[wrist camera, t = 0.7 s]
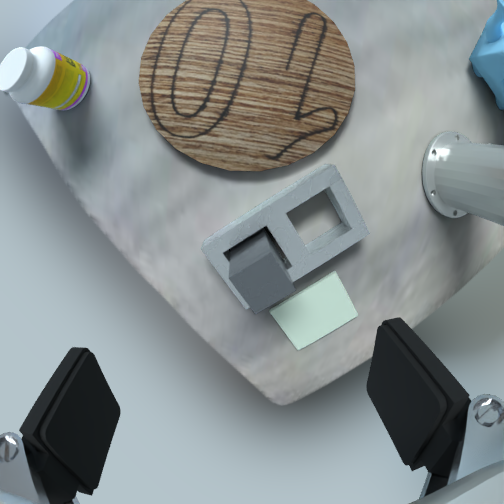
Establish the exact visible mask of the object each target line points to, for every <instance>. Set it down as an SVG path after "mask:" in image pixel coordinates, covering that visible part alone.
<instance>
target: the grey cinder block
mask: <svg viewBox="0 0 504 504" xmlns="http://www.w3.org/2000/svg"><path fill="white" fill-rule="evenodd" d="M322 190H325V192H326V194H327V196H328V197H329V199H330V201H331V203H332V205H333V207H334V208H335V210H336V212H337V214H338V216H339V218H340V220H341V223H340V224H338V225H337V226H335V227H333V228H332V229H330V230H329V231H327V232H325V233H324V234H322V235H321V236H319V237H318V238H316V239H314V240H313V241H311V242H310V243H308V244H306V245H305V244H304V243H303V241H302V239H301V238H300V236H299V234H298V233H297V231H296V229H295V228H294V226H293V225H292V223H291V221H290V220H289V218H288V216H287V215H286V213H287V212H289V211H290V210H292V209H293V208H295V207H297V206H298V205H300V204H301V203H303V202H305V201H306V200H308V199H310V198H311V197H313V196H314V195H316V194H318V193H319V192H321V191H322ZM266 225H267V227H268V229H269V230H270V232H271V233H272V235H273V236H274V238H275V239H276V241H277V243H278V244H279V246H280V247H281V249H282V250H283V252H284V254H285V255H286V257H285V258H284V259H283V261H284V263H285V265H286V268H287V270H288V272H289V275H290V277H291V279H292V282H294V281H296V280H297V279H299V278H301V277H302V276H304V275H305V274H307V273H309V272H310V271H312V270H314V269H315V268H317V267H318V266H320V265H322V264H323V263H325V262H326V261H328V260H330V259H331V258H333V257H334V256H336V255H338V254H339V253H341V252H342V251H344V250H345V249H347V248H348V247H350V246H352V245H353V244H355V243H356V242H358V241H359V240H361V239H362V238H364V237H365V236H367V235H368V234H370V233H369V231H368V229H367V226H366V224H365V222H364V220H363V218H362V216H361V214H360V212H359V210H358V208H357V206H356V204H355V202H354V200H353V198H352V196H351V194H350V192H349V190H348V188H347V186H346V185H345V183H344V181H343V179H342V177H341V175H340V173H339V172H338V170H337V168H336V166H335V165H332V164H324V165H323V166H321V167H319V168H318V169H316V170H314V171H313V172H311V173H309V174H308V175H306V176H304V177H303V178H301V179H299V180H298V181H296V182H294V183H293V184H291V185H290V186H288V187H286V188H285V189H283V190H281V191H280V192H278V193H277V194H275V195H273V196H272V197H270V198H269V199H267V200H265V201H264V202H262V203H261V204H259V205H258V206H256V207H254V208H253V209H251V210H250V211H248V212H247V213H245V214H243V215H242V216H240V217H239V218H237V219H236V220H234V221H232V222H231V223H229V224H228V225H226V226H225V227H223V228H222V229H220V230H219V231H217V232H216V233H214V234H213V235H211V236H209V237H208V238H206V239H205V240H204V242H203V245H202V247H201V250H202V251H203V253H204V254H205V255H206V257H207V258H208V259H209V261H210V262H211V263H212V265H213V266H214V268H215V269H216V270H217V272H218V273H219V274H220V276H221V277H222V278H223V280H224V281H225V282H226V284H227V285H228V286H229V288H230V289H231V290H232V292H233V293H234V294H235V296H236V297H237V298H238V300H239V301H240V302H241V304H242V305H243V306H244V308H245V309H248V308H250V307H249V305H248V304H247V303H246V301H245V300H244V299H243V297H242V296H241V295H240V293H239V292H238V291H237V289H236V288H235V287H234V285H233V284H232V283H231V281H230V280H229V264H230V252H229V250H228V249H230V248H231V247H233V246H234V245H236V244H238V243H239V242H241V241H242V240H244V239H245V238H247V237H249V236H250V235H252V234H253V233H255V232H257V231H258V230H260V229H261V228H263V227H265V226H266Z"/></svg>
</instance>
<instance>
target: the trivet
mask: <svg viewBox="0 0 504 504" xmlns="http://www.w3.org/2000/svg"><path fill="white" fill-rule="evenodd" d="M139 86H140V91H141V96H142V101H143V105H144V108H145V110H146V112H147V114H148V115H149V117H150V119H151V121H152V123H153V124H154V126H155V128H156V130H157V131H158V132H159V133H160V134H161V135H162V136H163V137H164V138H165V139H166V140H167V141H168V142H170V143H171V144H172V145H173V146H174V147H175V148H176V149H177V150H179V151H181V152H183V153H184V154H186V155H188V156H190V157H192V158H193V159H195V160H197V161H199V162H200V163H204V164H207V165H211V166H215V167H219V168H222V169H226V170H230V171H263V170H268V169H272V168H277V167H281V166H286V165H290V164H292V163H294V162H296V161H298V160H300V159H302V158H304V157H306V156H308V155H310V154H312V153H314V152H315V151H316V150H317V149H319V148H320V147H321V146H322V145H323V144H324V143H325V142H327V141H328V140H329V139H330V138H331V137H332V136H333V135H334V134H335V133H336V131H337V130H338V128H339V127H340V125H341V124H342V122H343V120H344V119H345V117H346V116H347V114H348V112H349V109H350V105H351V102H352V98H353V94H354V91H355V70H354V63H353V59H352V56H351V53H350V50H349V47H348V44H347V42H346V40H345V38H344V37H343V35H342V34H341V32H340V31H339V29H338V28H337V26H336V25H335V23H334V22H333V21H332V20H331V19H330V18H329V17H328V16H327V15H326V14H325V13H323V12H322V11H321V10H320V9H319V8H318V7H317V6H315V5H314V4H312V3H311V2H309V1H307V0H186V1H185V2H183V3H182V4H180V5H179V6H178V7H176V8H175V9H174V10H172V11H171V12H170V13H169V14H167V15H166V16H165V18H164V19H163V20H162V21H161V23H160V24H159V25H158V26H157V28H156V29H155V30H154V32H153V33H152V34H151V36H150V38H149V40H148V43H147V45H146V48H145V50H144V52H143V55H142V57H141V65H140V75H139Z"/></svg>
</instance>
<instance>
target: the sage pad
mask: <svg viewBox="0 0 504 504" xmlns="http://www.w3.org/2000/svg"><path fill="white" fill-rule="evenodd" d="M269 311H270V313H271V315H272V316H273V317H274V319H275V320H276V321H277V323H278V324H279V325H280V327H281V328H282V330H283V331H284V332H285V334H286V335H287V336H288V338H289V339H290V340H291V342H292V343H293V344H294V346H295V347H296V348H297V350H300V349H302V348H304V347H306V346H307V345H309V344H311V343H313V342H314V341H316V340H318V339H320V338H321V337H323V336H325V335H327V334H328V333H330V332H332V331H333V330H335V329H337V328H338V327H340V326H342V325H343V324H345V323H347V322H348V321H350V320H352V319H353V318H355V317H356V316H358V313H357V312H356V310H355V308H354V306H353V304H352V302H351V300H350V298H349V296H348V294H347V292H346V290H345V288H344V286H343V285H342V283H341V281H340V279H339V277H338V275H337V273H336V272H335V271H333V272H332V273H330V274H328V275H327V276H325V277H324V278H322V279H320V280H319V281H317V282H315V283H314V284H312V285H311V286H309V287H307V288H306V289H304V290H302V291H301V292H299V293H297V294H296V295H294V296H292V297H291V298H289V299H287V300H285V301H284V302H282V303H280V304H279V305H277V306H275V307H273V308H272V309H270V310H269Z"/></svg>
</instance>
